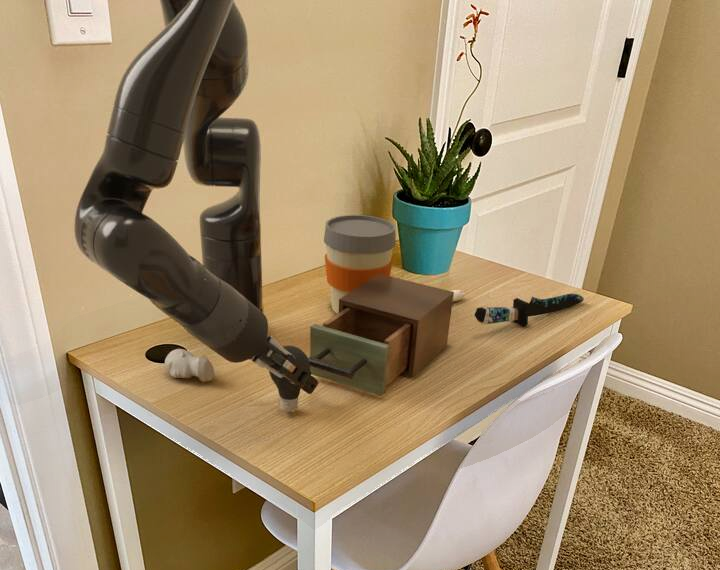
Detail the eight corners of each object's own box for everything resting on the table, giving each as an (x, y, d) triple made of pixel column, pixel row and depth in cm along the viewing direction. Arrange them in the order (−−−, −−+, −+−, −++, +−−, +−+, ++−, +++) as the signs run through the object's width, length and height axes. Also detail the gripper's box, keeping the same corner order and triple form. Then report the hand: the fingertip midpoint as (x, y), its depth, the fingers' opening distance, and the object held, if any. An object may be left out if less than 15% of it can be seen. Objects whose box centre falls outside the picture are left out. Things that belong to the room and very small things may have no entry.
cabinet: (412, 378, 116) (418, 320, 111) (336, 355, 121) (338, 299, 116) (446, 346, 126) (454, 291, 121) (375, 326, 131) (379, 273, 126)
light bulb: (272, 400, 108) (271, 337, 103) (310, 403, 108) (312, 339, 103) (266, 420, 104) (265, 355, 98) (306, 423, 104) (308, 358, 98)
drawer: (364, 412, 105) (368, 362, 101) (290, 388, 110) (290, 339, 105) (417, 364, 118) (423, 318, 114) (349, 344, 123) (351, 299, 118)
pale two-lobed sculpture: (161, 380, 114) (184, 360, 116) (199, 396, 110) (221, 375, 113) (151, 358, 111) (175, 338, 113) (189, 374, 107) (213, 353, 109)
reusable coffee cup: (392, 298, 142) (399, 217, 133) (387, 325, 132) (394, 240, 123) (327, 292, 143) (329, 211, 134) (317, 318, 133) (318, 233, 124)
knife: (475, 334, 128) (481, 309, 125) (463, 327, 130) (469, 302, 127) (589, 317, 145) (597, 295, 142) (578, 312, 147) (585, 289, 144)
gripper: (274, 313, 87) (348, 376, 100) (207, 275, 95) (283, 338, 109) (238, 366, 87) (316, 422, 100) (174, 324, 95) (254, 381, 109)
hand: (299, 378), depth 104 cm, fingers closed on light bulb, 5 cm apart
